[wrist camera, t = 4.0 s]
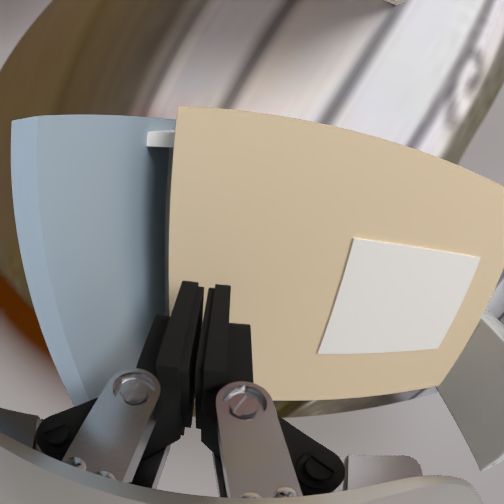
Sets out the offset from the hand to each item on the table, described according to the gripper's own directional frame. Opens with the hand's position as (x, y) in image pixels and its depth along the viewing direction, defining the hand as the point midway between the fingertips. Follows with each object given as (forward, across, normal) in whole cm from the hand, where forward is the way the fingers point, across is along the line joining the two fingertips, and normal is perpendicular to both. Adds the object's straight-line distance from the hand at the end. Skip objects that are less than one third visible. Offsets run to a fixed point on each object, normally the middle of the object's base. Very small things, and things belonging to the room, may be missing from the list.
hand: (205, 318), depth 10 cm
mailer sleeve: (+9, -7, 0) cm, 11 cm away
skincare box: (+9, -24, +8) cm, 27 cm away
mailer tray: (+8, -5, 0) cm, 10 cm away
